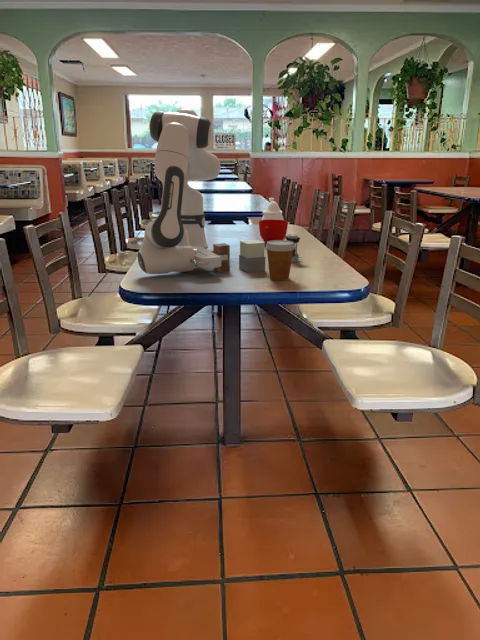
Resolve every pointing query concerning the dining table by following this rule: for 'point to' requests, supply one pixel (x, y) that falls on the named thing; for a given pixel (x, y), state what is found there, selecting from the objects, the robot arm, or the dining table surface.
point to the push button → (295, 240)
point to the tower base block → (251, 264)
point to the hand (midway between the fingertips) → (223, 255)
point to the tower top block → (252, 248)
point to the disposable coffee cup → (279, 259)
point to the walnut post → (220, 250)
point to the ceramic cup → (272, 229)
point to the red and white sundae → (272, 211)
